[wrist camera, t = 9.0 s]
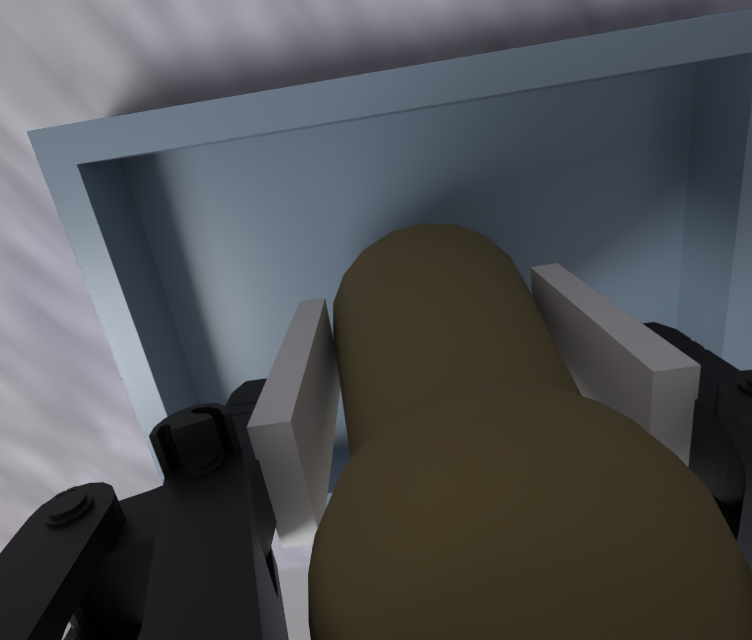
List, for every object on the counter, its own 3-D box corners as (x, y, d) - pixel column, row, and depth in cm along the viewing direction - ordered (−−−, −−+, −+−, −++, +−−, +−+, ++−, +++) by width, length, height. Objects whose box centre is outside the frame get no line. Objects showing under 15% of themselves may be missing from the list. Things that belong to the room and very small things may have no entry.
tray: (711, 27, 15) (804, -2, 12) (679, 410, 20) (738, 464, 17) (96, 131, 16) (26, 131, 13) (211, 472, 21) (181, 534, 18)
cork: (569, 327, 15) (1000, 754, 5) (419, 439, 16) (500, 954, 6) (443, 176, 13) (685, 327, 3) (290, 316, 15) (104, 738, 4)
